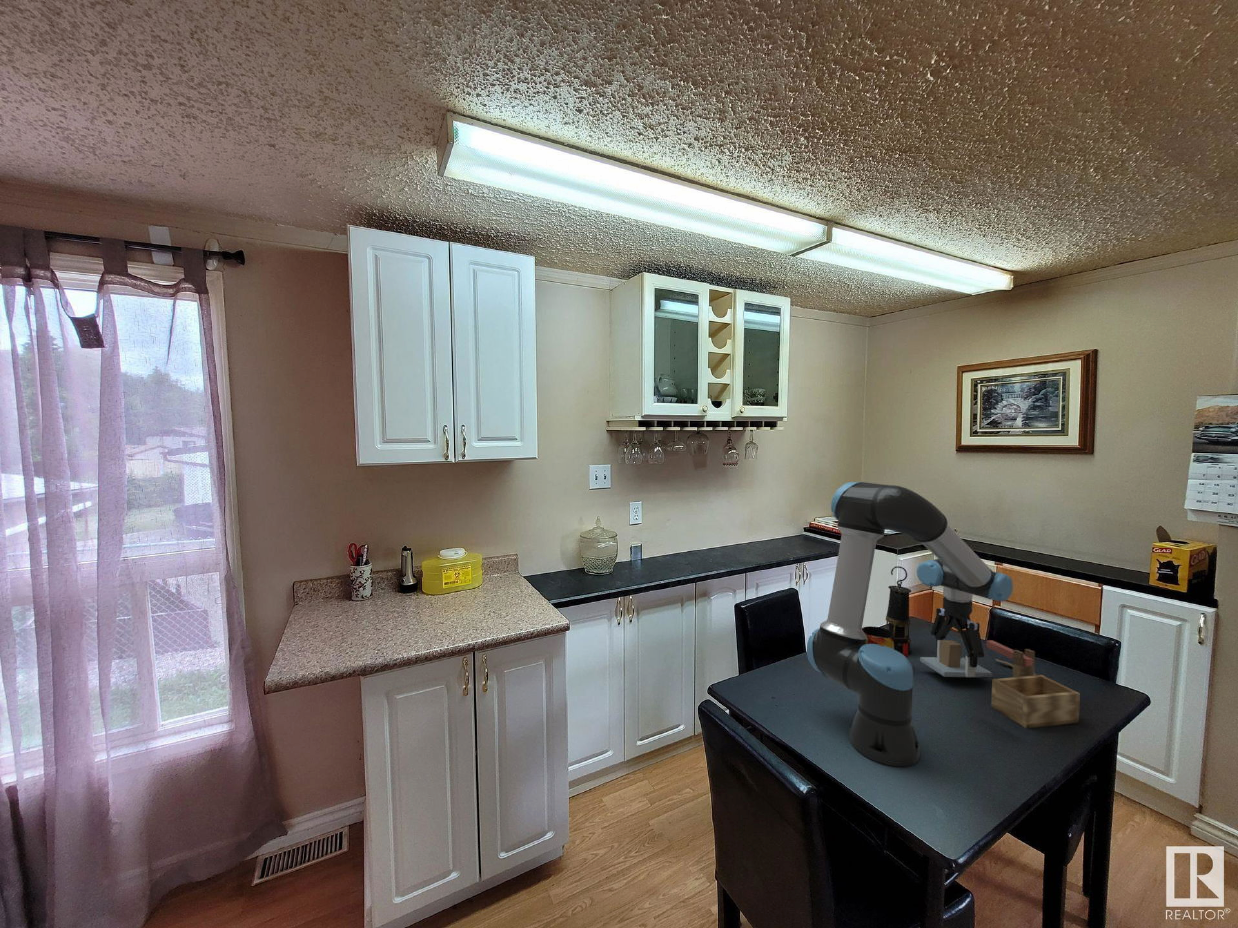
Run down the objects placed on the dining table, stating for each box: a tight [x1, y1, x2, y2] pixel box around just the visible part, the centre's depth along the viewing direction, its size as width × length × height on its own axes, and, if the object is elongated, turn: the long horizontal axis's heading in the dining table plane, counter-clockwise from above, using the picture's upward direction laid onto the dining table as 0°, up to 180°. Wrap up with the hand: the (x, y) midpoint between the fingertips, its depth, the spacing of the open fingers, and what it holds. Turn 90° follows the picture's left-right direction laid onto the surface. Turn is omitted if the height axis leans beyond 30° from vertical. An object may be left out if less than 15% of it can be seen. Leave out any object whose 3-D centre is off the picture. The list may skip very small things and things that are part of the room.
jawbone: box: [995, 658, 1038, 676], centre depth 150 cm, size 9×20×2 cm, turn 172°
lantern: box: [885, 565, 912, 656], centre depth 171 cm, size 9×9×30 cm
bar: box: [985, 639, 1033, 666], centre depth 145 cm, size 2×13×2 cm, turn 8°
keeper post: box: [1011, 648, 1036, 678], centre depth 141 cm, size 5×2×13 cm, turn 98°
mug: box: [862, 625, 909, 660], centre depth 159 cm, size 10×14×12 cm
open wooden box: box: [990, 674, 1081, 729], centre depth 131 cm, size 16×10×8 cm, turn 98°
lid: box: [919, 639, 993, 678], centre depth 151 cm, size 16×10×9 cm, turn 96°
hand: (955, 667), depth 151 cm, fingers closed on lid, 10 cm apart
